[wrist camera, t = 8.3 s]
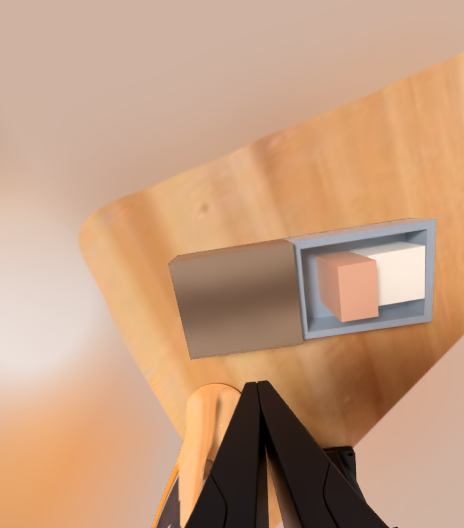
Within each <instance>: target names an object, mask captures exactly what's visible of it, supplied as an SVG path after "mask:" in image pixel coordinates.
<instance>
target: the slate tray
mask: <svg viewBox="0 0 464 528" xmlns="http://www.w3.org/2000/svg"><path fill="white" fill-rule="evenodd" d="M435 236H436V219H416V218H408V219H401V220H395V221H389V222H383V223H377V224H370V225H364V226H358V227H352V228H346V229H339V230H333V231H327V232H321V233H315V234H308V235H302V236H296V237H290V238H284V239H285V240H287V241H289V242H291V243H293V249H294V259H295V269H296V279H297V288H298V298H299V308H300V318H301V328H302V337H303V340H305V339H312V338H319V337H326V336H333V335H340V334H347V333H354V332H361V331H368V330H375V329H382V328H389V327H396V326H403V325H410V324H417V323H424V322H431V321H432V306H433V283H434V259H435ZM399 241H400V242H406V243H412V244H418V245H423V246H425V298H423V299H417V300H411V301H405V302H399V303H393V304H387V305H381V306H378V315H379V316H377V317H371V318H365V319H359V320H353V321H347V322H341V321H340V320H339V319H338V318H337V317H336V316H335V315H334V314H333V313H332V312H331V311H330V310H329V309H328V308H327V307H326V306H325V305H324V304H323V303H322V302H321V301H320V297H319V288H318V278H317V268H316V258H315V255H321V254H326V253H332V252H338V251H343V250H347V251H350V250H353V249H359V248H365V247H370V246H376V245H382V244H387V243H393V242H399Z"/></svg>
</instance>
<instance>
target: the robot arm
mask: <svg viewBox="0 0 464 528" xmlns="http://www.w3.org/2000/svg"><path fill="white" fill-rule="evenodd" d="M265 447H266V449H265ZM266 453H267V458H268V462H269V467H270V471H271V475H272V479H273V483H274V487H275V491H276V496H277V500H278V504H279V508H280V512H281V516H282V520H283V524H284V528H389V527H388V526H387V525H386V524H385V523H384V522H383V521H382V520H381V519H380V517H379V516H378V515H377V514H376V513H375V512H374V511H373V510H372V509H371V508H370V506H369V505H368V504H367V503H366V501H365V498H364V496H363V494H362V492H361V490H360V488H359V485H358V483H357V481H356V461H355V452H354V450H353V448H352V447H343V448H335V449H327V450H322V448H321V447H320V446H319V445H318V443H317V442H316V441H315V440H314V438H313V437H312V436H311V434H310V433H309V432H308V431H307V429H306V428H305V427H304V426H303V424H302V423H301V422H300V421H299V419H298V418H297V417H296V415H295V414H294V413H293V412H292V410H291V409H290V408H289V407H288V405H287V404H286V403H285V401H284V400H283V399H282V398H281V396H280V395H279V394H278V393H277V391H276V390H275V389H274V388H273V386H272V385H271V384H270V382H269V381H267V380H265V381H258V382H257V383H256V382H247V383H246V384H245V386H244V388H243V390H242V393H241V395H240V398H239V400H238V403H237V405H236V408H235V410H234V412H233V415H232V417H231V420H230V422H229V425H228V427H227V430H226V432H225V434H224V437H223V439H222V442H221V444H220V447H219V449H218V452H217V454H216V456H215V459H214V461H213V464H212V466H211V469H210V471H209V474H208V476H207V478H206V481H205V483H204V486H203V488H202V490H201V493H200V495H199V497H198V499H197V502H196V504H195V506H194V508H193V511H192V513H191V515H190V517H189V519H188V521H187V523H186V525H185V527H184V528H269V515H268V487H267V461H266ZM394 528H398V527H394Z"/></svg>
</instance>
